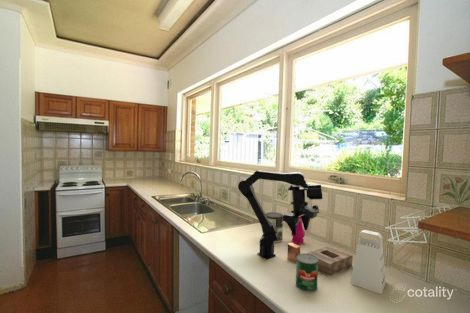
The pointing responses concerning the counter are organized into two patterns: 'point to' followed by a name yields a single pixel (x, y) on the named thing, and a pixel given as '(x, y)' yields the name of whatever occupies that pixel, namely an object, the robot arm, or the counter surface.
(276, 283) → the counter surface
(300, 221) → the pepper mill
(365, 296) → the counter surface
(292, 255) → the tall wooden block
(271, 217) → the coffee can
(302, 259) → the canned tomato
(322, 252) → the well block
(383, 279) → the grater
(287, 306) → the counter surface
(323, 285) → the counter surface
